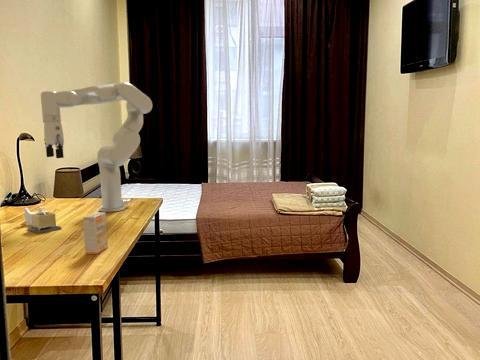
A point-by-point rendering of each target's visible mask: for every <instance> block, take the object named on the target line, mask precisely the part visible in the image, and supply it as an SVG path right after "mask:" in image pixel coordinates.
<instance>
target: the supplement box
mask: <svg viewBox="0 0 480 360" xmlns="http://www.w3.org/2000/svg"><path fill="white" fill-rule="evenodd" d="M82 224H83V235H84V237H83V239H84V240H83V241H84V251H85V252H84V253H85V255H99V254H100V253H102V252H103V251H104V250H106V249H108V245H109V244H108V233H107V232H108V230H107V228H108V227H107V215H106V212H102V211H96V212H92V213H90V214H87V215H85V216H83V217H82Z"/></svg>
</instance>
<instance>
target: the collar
mask: <svg viewBox="0 0 480 360" xmlns="http://www.w3.org/2000/svg"><path fill="white" fill-rule="evenodd" d="M42 213H43V212H42ZM46 213H47V215H41V216H40V213H36V214H31V215H32V225H31V226H34V227H36V228H39V229H40V228H45V227H51V226H56V225H57V222H56V213H54V212H51V211H48V212H46Z"/></svg>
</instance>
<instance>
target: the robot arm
mask: <svg viewBox="0 0 480 360" xmlns="http://www.w3.org/2000/svg"><path fill="white" fill-rule="evenodd" d="M119 101H125V102H126V104H125V105H126V111H127V117H126V119H125V121H124V122H123V124H121V126H120V127H119V128H118V129H117V131H115V133H114V134H113V135H112V144H113V145H104V146H102V147H100V148H99V150H98V151H97V157H96V158H97V164H98V167H99V175H100V176H99V177H100V192H101V206H100V207H99V209H98V210H99V212H105V213H106V212H107V213H113V212H119V211H120V212H121V211H124V210H126V206H125V205H127V204H131V203H132V201H131V199H123V197H122V185H121V183H122V182H121V180H122V179H121V170H120V167H121V166H123V165H125V164H126V163H127V162H128V160H129V159H130V158H131V156H132V155H133V154H134V153H135V152H136V151H137V149H138V148H139V145H140V143H141V137H140V134H139V133H140V131H142V128H143V125H144V114H149V113H150V112H151V111H152V109H153V101H152V100H151V98H150V97H149V96H147V94H145V93H143V92H142V91H141V90H140V89H138V88H137V87H136V86H135V85H134V84H131V83H130V82H127V81H126V82H116V83H108V84H101V85H92V86H87V87H83V88H78V89H71V90H61V91H55V90H51V91H50V90H49V91H48V90H47V91H41V93H40V104H41V115H42V123H43V130H44V131H43V133H44V134H43V135H44V136H43V137H44V138H43V141H44V144H45V146H44V147H45V152H46V153H45V154H46V157H47V158H53V157H54V156H55V158H56V159H64V144H65V139H64V132H63V126H62V119H61V117H62V116H61V109H62V108H66V109H67V108H73V107H77V106H84V105H92V106H93V105H100V104H106V103H113V102H119ZM54 147H55V151H54Z"/></svg>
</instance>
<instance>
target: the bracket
mask: <svg viewBox="0 0 480 360" xmlns="http://www.w3.org/2000/svg"><path fill="white" fill-rule="evenodd" d="M43 207H44V206H39V209H38V211H30V209H29V207H25V208H23V210H24V222H25V226H32V215H31V214H36V213H42V212H49V210H44V208H43Z"/></svg>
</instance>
